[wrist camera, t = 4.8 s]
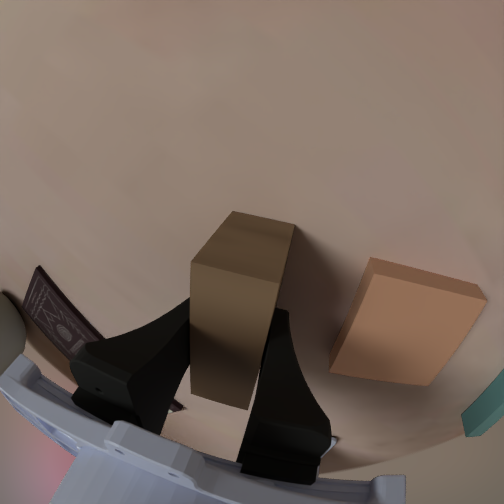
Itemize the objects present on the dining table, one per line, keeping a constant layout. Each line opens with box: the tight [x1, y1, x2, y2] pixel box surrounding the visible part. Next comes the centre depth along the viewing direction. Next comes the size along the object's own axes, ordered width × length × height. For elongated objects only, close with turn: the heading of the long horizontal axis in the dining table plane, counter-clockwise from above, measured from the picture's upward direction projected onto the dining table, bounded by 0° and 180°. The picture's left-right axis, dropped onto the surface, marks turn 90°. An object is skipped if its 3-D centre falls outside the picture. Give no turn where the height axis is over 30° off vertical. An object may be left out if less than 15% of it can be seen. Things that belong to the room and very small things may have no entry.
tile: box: [329, 257, 487, 386], centre depth 14 cm, size 7×7×2 cm
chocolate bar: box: [22, 265, 183, 413], centre depth 24 cm, size 9×1×18 cm
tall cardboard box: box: [190, 211, 295, 410], centre depth 14 cm, size 8×3×5 cm, turn 172°
